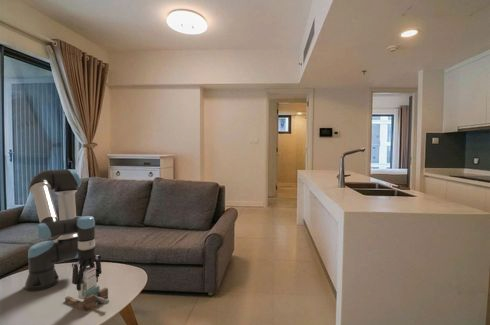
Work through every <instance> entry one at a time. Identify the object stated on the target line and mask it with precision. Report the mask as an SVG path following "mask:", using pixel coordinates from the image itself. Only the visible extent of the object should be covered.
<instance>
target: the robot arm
mask: <svg viewBox="0 0 490 325" xmlns="http://www.w3.org/2000/svg"><path fill="white" fill-rule="evenodd" d="M29 182H30V183H29V185H28V187H29V189H28V190H29V193H30V194H31V195H32V196H33V199H34V203H35V208H36V213H37V216H38V221H39V223H38V224H36V225H35V226H36V227H35V233H36V237H37V239H38V240H44V239H52V238H55V237H58V238H57V242H54V240H44V241H41V242H37V243H35V244H33V245H31V246H30V247H29V249H28V250H27V252H28V254H27V259H28V275H27V279H26V280H25V284H24V287H25V290H26V291H29V292H38V291H42V290H46V289H49V288H51V287H53V286H56V284H58V283H59V280H60V279H59V275H58V273H57V271H56V268H55V265H56V264H57V263H61V262H62V263H63V262H65V261H67V262H68V261H70V260H74V259H77V258H78V260H77V261H76V262H75V263H72V264H71V267H72V275H71V276H72V278H71V281H72V282H71V283H72V285H74V286H76V291H77V293H78V294H77V295H78V297H79V296H81V297H83V283H81V282H82V278H83V272H84V271H85V269H86V267H87V266H90V267H92V268H93V267H95V268H96V286H98V282H99V277H100V275H101V274H102V272H103V271H102V263H101V258H102V255H100V254H96V239H95V238H96V229H95V228H96V222H95V218H94V216H92V215H85V216H82V215H80V216H79V215H78V216H77V208H76V207H77V206H76V193H77V192H78V189H79V188H80V187H81V177H80V174H79V173H78V171H77V170H76V169H73V168H71V169H69V168H67V169H52V170H51V169H50V170H49V169H47V170H42V171H40V172H38V173H36V174H35V175H34V176H33V178H31V180H30V181H29ZM53 190H54V193H55V194H56V195H57V202H58V214H57V211H56V207H55V204H54V200H53V197H52V193H51V191H53ZM58 217H59V218H58ZM78 270H79V273H78Z"/></svg>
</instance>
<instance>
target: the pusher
mask: <svg viewBox="0 0 490 325" xmlns="http://www.w3.org/2000/svg"><path fill="white" fill-rule="evenodd" d="M100 286H101V285H98V284H97V286H96V287H94V288H92V289H90V290H87V291H85V292H84V298H85V297H87V296H89V295H91V294H94V295H95V302H98V300H99V301H102V302H103V304H104V305H109V303H110V299H109V298H108V299H103V298H101V297H99V296H98V291H99V290H101V289H100Z"/></svg>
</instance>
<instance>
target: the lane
mask: <svg viewBox="0 0 490 325" xmlns="http://www.w3.org/2000/svg"><path fill="white" fill-rule="evenodd" d="M98 296H99V297H101V298H103V299H109V289H108V287H104V288H101V289H100V290H99V291H98ZM83 300H84V301H83V302H82V301H81V300H79V299H76V298H75V297H74V298H73V297H71V296H69V295H67V296H65V297H64V301H65V302H66V303H68V304H70V305H73V306H75V307H77V308H79V309H81V310H83V311H85V312H88V311H90V310H92V309H95V308H96V301H95V295H94V294H91V295H89V296H87V297H85V298H84V299H83ZM97 303H98V304H99V305H101V304H104V302H102V301H99V300H97Z"/></svg>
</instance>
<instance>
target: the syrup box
mask: <svg viewBox="0 0 490 325" xmlns="http://www.w3.org/2000/svg"><path fill="white" fill-rule="evenodd" d="M78 273H79V269H78ZM81 283H83V297H81V296H78V299H81V300H84V292H85V291H87V290H90V289H92V288H94V287H96V266H95V267H93V268H92V267H90V266H87V267H86V269H85V271H84V272H83V278H82V282H81Z"/></svg>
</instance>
